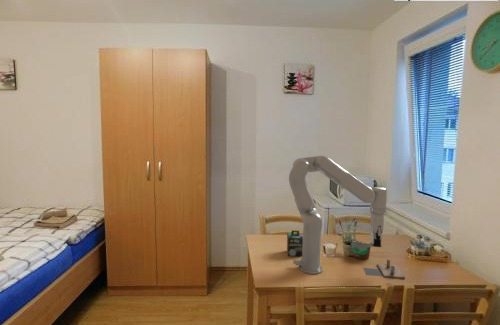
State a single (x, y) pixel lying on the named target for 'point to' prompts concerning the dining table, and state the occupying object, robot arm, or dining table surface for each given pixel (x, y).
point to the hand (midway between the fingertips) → (375, 244)
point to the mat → (372, 272)
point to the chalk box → (294, 244)
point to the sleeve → (374, 238)
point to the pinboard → (390, 270)
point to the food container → (361, 250)
